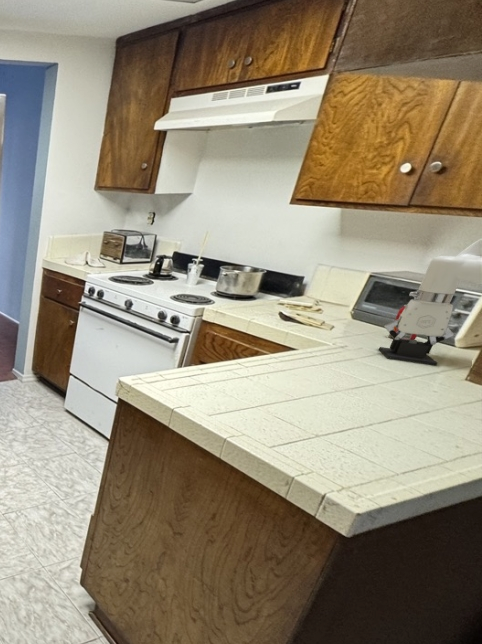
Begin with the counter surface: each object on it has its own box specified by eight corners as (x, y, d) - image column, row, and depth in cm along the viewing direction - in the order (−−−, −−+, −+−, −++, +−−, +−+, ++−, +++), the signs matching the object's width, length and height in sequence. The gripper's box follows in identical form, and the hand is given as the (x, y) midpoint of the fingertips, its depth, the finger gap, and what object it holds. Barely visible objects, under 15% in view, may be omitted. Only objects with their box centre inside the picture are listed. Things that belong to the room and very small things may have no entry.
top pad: (417, 353, 151) (422, 341, 149) (423, 358, 146) (429, 346, 145) (391, 350, 154) (396, 338, 152) (397, 355, 149) (402, 343, 148)
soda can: (402, 336, 173) (417, 304, 168) (420, 342, 166) (436, 309, 162) (382, 335, 173) (395, 303, 169) (399, 341, 167) (413, 308, 162)
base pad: (424, 356, 152) (432, 338, 150) (436, 365, 143) (445, 347, 141) (378, 349, 157) (385, 332, 155) (387, 358, 149) (395, 340, 146)
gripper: (398, 296, 144) (374, 351, 151) (479, 303, 136) (450, 361, 143) (391, 292, 150) (368, 345, 157) (468, 299, 142) (441, 355, 148)
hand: (407, 352), depth 150 cm, fingers closed on top pad, 6 cm apart
